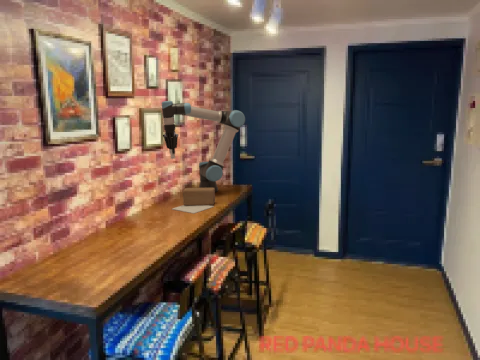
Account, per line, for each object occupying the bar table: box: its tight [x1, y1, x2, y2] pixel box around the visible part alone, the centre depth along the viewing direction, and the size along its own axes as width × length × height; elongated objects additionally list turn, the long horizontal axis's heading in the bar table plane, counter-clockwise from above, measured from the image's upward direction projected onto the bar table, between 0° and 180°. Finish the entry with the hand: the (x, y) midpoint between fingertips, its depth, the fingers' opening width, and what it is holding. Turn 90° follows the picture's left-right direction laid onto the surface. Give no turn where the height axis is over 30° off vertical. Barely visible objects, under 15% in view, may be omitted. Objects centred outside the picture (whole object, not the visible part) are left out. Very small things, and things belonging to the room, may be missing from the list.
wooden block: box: [182, 187, 216, 206], centre depth 244 cm, size 10×10×20 cm
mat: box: [171, 204, 215, 215], centre depth 236 cm, size 18×20×1 cm
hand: (173, 158), depth 257 cm, fingers closed
